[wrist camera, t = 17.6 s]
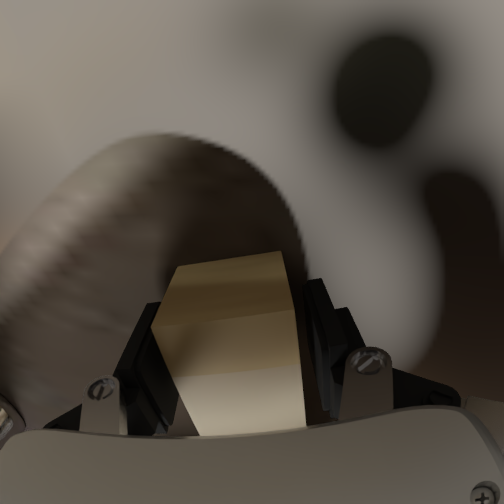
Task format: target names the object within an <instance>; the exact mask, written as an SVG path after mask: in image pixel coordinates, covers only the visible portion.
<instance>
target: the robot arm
mask: <svg viewBox="0 0 504 504" xmlns="http://www.w3.org/2000/svg"><path fill="white" fill-rule="evenodd" d="M302 288H303V297H304V307H305V317H306V327H307V338H308V346H309V350H310V355H311V359H312V363H313V368H314V372H315V376H316V381H317V385H318V389H319V394H320V398H321V403H322V408H323V411H327V410H329V413H330V417H331V418H337V419H338V421H334V422H328V423H323V424H317V425H311V426H305V427H298V428H291V429H284V430H275V431H267V432H257V433H246V434H233V435H215V436H152V435H153V434H154V433H167V431H168V426H169V425H172V424H173V420H174V415H175V411H176V406H177V401H178V397H179V392H178V390H177V388H176V385H175V383H174V381H173V379H172V377H171V374H170V372H169V370H168V368H167V365H166V363H165V361H164V358H163V356H162V354H161V351H160V349H159V346H158V344H157V342H156V339H155V337H154V334H153V332H152V329H151V325H152V323H153V321H154V318H155V316H156V314H157V311H158V309H159V307H160V305H161V302H154V303H147V305H146V307H145V309H144V311H143V313H142V315H141V317H140V319H139V321H138V323H137V325H136V327H135V329H134V331H133V333H132V335H131V337H130V339H129V341H128V343H127V345H126V347H125V350H124V352H123V354H122V356H121V358H120V360H119V362H118V364H117V367H116V369H115V371H114V374H113V376H108V375H107V376H101V377H98V378H96V379H94V380H93V381H91V382H90V383H89V384H88V385H87V387H86V388H85V391H84V395H83V402H82V404H80V405H79V406H77V407H75V408H74V409H72V410H70V411H68V412H67V413H65V414H63V415H61V416H60V417H58V418H56V419H54V420H53V421H51V422H49V423H48V424H46V425H45V426H44V428H43V429H33V430H28V431H24V432H21V433H18V434H16V435H13V436H12V437H11V438H10V439H9V440H8V441H7V442H6V443H5V445H4V446H3V447H2V449H1V450H0V504H504V403H502V402H496V401H492V400H486V399H482V398H477V397H472V396H468V398H467V399H464V398H460V396H459V394H458V392H457V391H456V390H454V389H453V388H452V387H449V386H447V385H444V384H441V383H438V382H434V381H431V380H428V379H425V378H422V377H419V376H416V375H413V374H410V373H406V372H404V371H401V370H397V369H394V368H392V360H391V357H390V355H389V354H388V353H387V352H386V351H384V350H383V349H380V348H377V347H366V345H365V343H364V341H363V339H362V337H361V335H360V332H359V330H358V328H357V326H356V324H355V322H354V320H353V317H352V316H351V313H350V311H349V309H348V308H347V307H344V308H339V309H334V307H333V304H332V302H331V299H330V297H329V295H328V292H327V290H326V287H325V285H324V283H323V280H322V279H321V278H319V279H313V280H307V284H305V285H302Z"/></svg>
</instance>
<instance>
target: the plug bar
mask: <svg viewBox="0 0 504 504" xmlns="http://www.w3.org/2000/svg"><path fill="white" fill-rule="evenodd" d="M151 329H152V332H153V334H154V337H155V339H156V342H157V344H158V346H159V349H160V351H161V354H162V356H163V358H164V361H165V363H166V365H167V368H168V370H169V372H170V374H171V377H172V379H173V381H174V383H175V385H176V388H177V390H178V392H179V394H180V396H181V398H182V400H183V402H184V405H185V407H186V409H187V411H188V413H189V415H190V417H191V419H192V421H193V423H194V425H195V427H196V429H197V431H198V433H199V434H200V436H215V435H233V434H246V433H257V432H267V431H275V430H284V429H291V428H298V427H305V426H306V418H305V407H304V396H303V385H302V375H301V365H300V355H299V346H298V337H297V328H296V319H295V310H294V305H293V301H292V296H291V292H290V287H289V283H288V279H287V274H286V270H285V266H284V261H283V257H282V253H281V251H275V252H269V253H262V254H256V255H249V256H243V257H236V258H230V259H223V260H217V261H210V262H204V263H197V264H191V265H184V266H178V267H177V269H176V271H175V273H174V275H173V278H172V280H171V282H170V284H169V287H168V289H167V291H166V293H165V295H164V298H163V300H162V302H161V305H160V307H159V309H158V311H157V314H156V316H155V318H154V321H153V323H152V325H151Z"/></svg>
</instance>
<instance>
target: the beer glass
mask: <svg viewBox="0 0 504 504" xmlns="http://www.w3.org/2000/svg"><path fill="white" fill-rule="evenodd" d="M24 431H25V423H24V421H23V419H22V417H21V416H20V414H19V413H18V412H17V410H16V409H15V408H14V407H13V406H12V405H11V404H10V403H9V402H8V401H7V400H6V399H5V398H4V397H3V396H2V395H1V394H0V450H1V449H2V447H3V446H4V445H5V443H6V442H7V441H8V440H9V439H10V438H11V437H12V436H13V435H16V434H18V433H21V432H24Z"/></svg>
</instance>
